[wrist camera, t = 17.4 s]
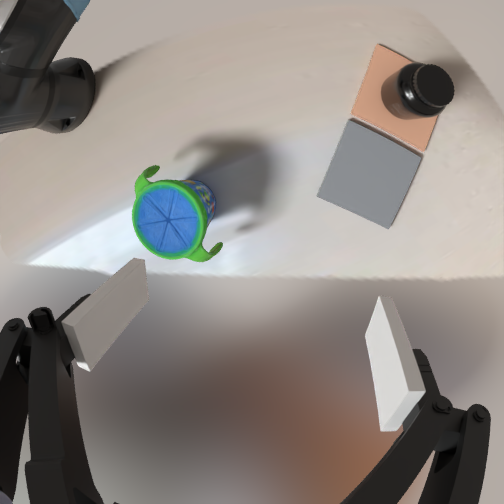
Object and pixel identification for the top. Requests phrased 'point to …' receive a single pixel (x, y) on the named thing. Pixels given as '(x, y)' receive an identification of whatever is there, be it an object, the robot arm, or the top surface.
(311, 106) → the top surface
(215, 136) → the top surface
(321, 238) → the top surface
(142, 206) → the snack cup
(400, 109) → the supplement bottle
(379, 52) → the terracotta pad
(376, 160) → the slate pad
